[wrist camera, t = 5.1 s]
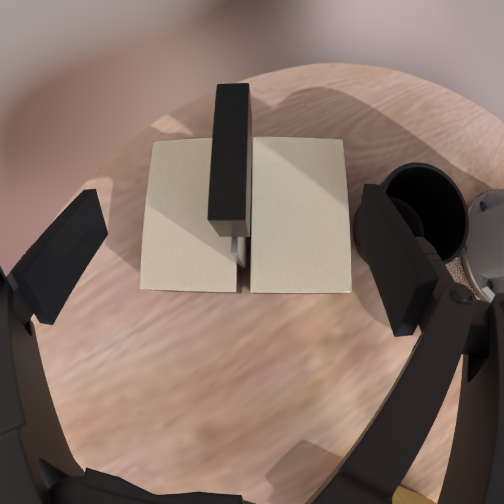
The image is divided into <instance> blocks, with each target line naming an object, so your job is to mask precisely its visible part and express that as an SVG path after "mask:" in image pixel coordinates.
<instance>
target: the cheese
mask: <svg viewBox="0 0 504 504" xmlns="http://www.w3.org/2000/svg"><path fill="white" fill-rule="evenodd" d="M392 504H436V503H435V502H433V501H432V500H430V499H428V498H427V497H425V496H423V495H421V494H418V493H416V492H413V491H411V490H408V489H406V488H403V487H402V486H400V485H399V486H398V488H397V489H396V491H395V493H394V495H393V497H392Z"/></svg>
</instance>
